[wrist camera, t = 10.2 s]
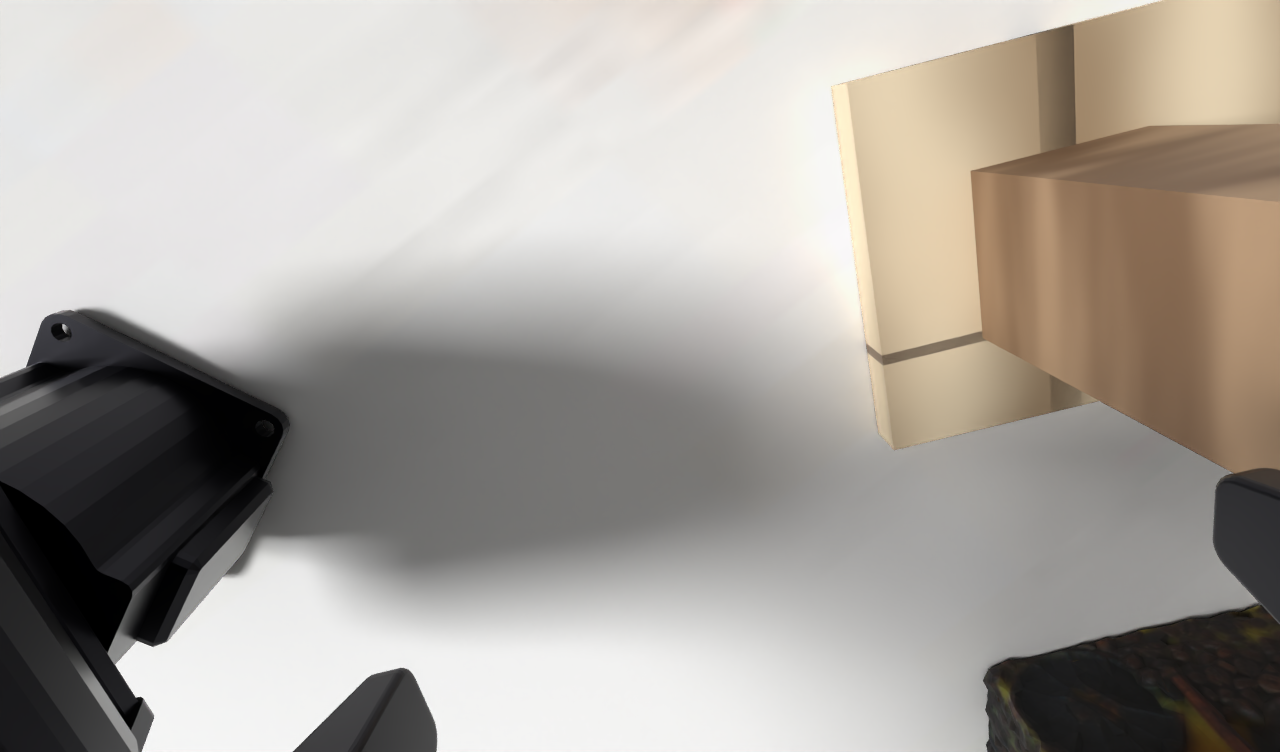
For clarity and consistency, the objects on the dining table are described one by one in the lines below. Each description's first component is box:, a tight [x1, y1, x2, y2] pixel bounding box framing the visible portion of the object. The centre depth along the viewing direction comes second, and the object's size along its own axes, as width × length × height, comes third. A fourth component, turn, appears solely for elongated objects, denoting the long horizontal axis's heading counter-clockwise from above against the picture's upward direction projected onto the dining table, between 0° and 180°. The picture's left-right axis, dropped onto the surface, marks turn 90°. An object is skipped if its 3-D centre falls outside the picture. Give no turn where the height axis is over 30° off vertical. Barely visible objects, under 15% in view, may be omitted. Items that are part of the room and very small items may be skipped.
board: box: [831, 0, 1280, 450], centre depth 18 cm, size 22×10×1 cm, turn 104°
